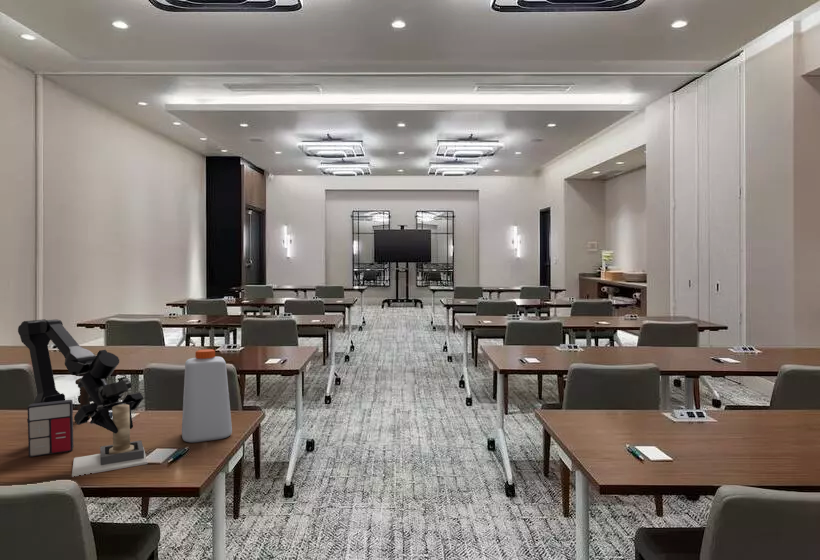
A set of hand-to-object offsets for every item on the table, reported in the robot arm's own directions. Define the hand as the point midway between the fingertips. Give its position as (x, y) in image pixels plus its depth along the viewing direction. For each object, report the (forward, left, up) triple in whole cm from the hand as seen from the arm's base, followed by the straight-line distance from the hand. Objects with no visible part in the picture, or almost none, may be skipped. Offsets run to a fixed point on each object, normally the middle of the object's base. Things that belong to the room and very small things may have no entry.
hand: (124, 430), depth 155 cm
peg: (-1, +1, -7) cm, 7 cm away
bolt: (-11, +55, -8) cm, 57 cm away
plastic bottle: (+24, +11, -9) cm, 28 cm away
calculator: (-19, +18, -8) cm, 27 cm away
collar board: (-4, -1, -8) cm, 9 cm away
